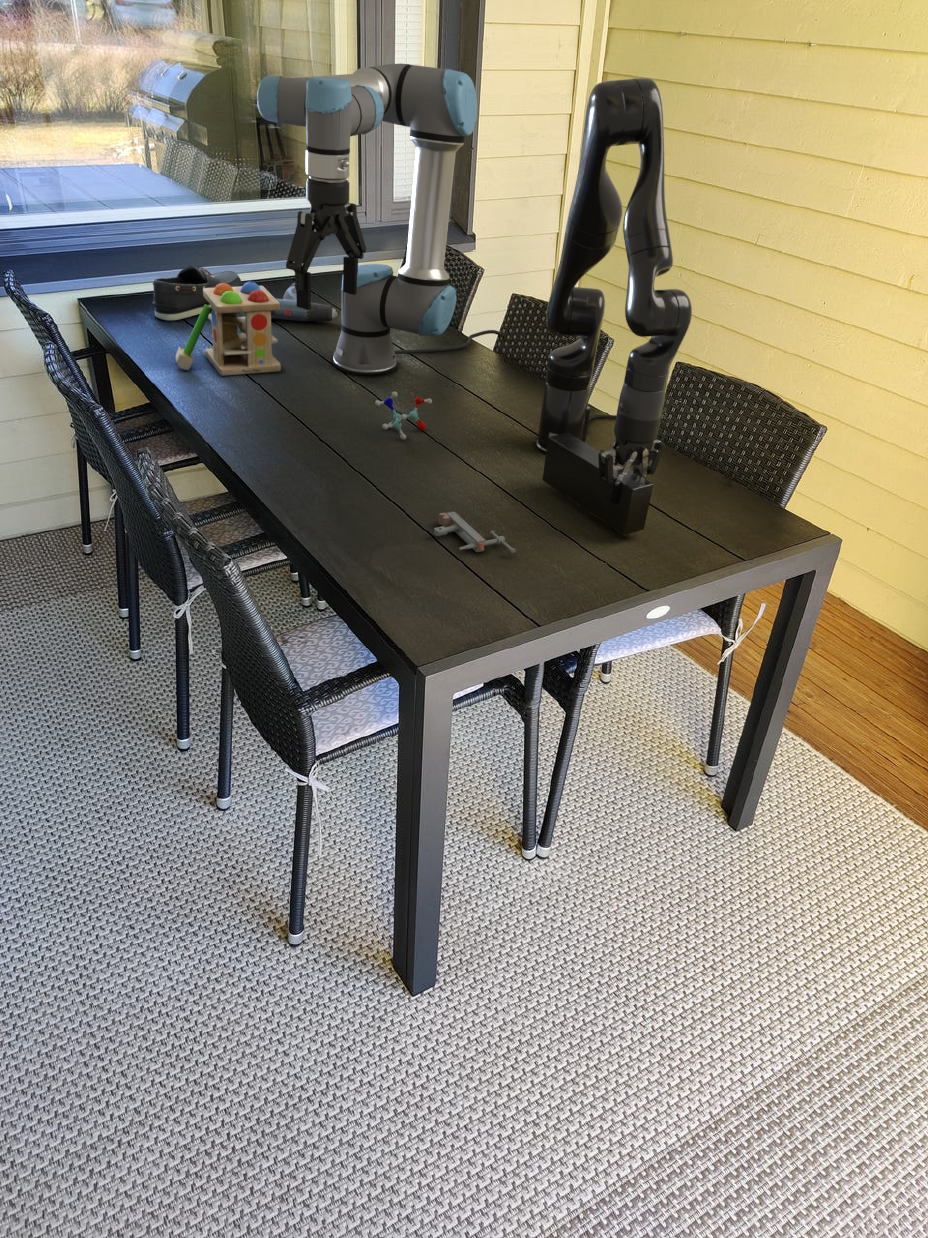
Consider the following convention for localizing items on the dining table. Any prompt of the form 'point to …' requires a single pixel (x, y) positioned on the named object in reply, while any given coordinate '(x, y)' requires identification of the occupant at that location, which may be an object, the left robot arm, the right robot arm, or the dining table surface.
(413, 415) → the molecular model
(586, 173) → the right robot arm
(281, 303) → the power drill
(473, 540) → the clamp
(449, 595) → the dining table surface
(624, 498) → the bar
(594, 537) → the dining table surface
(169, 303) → the boat shoe
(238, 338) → the pounding bench toy
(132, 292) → the dining table surface
